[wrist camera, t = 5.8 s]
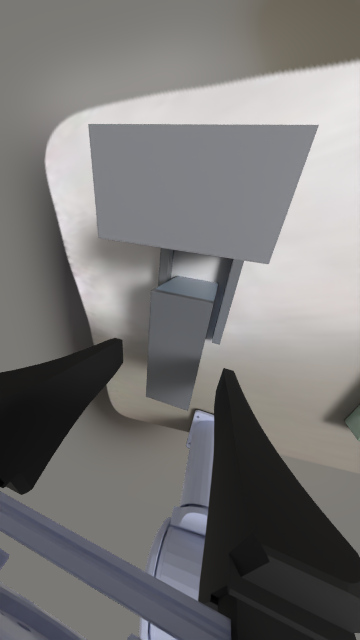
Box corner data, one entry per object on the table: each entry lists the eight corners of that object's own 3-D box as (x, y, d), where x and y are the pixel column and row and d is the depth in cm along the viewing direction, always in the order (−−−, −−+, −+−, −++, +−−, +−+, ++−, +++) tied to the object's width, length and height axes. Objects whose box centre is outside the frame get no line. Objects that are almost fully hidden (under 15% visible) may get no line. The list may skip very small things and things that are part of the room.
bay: (219, 338, 17) (215, 412, 9) (159, 323, 18) (110, 377, 11) (257, 206, 12) (318, 124, 4) (169, 198, 13) (88, 124, 5)
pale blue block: (198, 366, 20) (187, 415, 14) (168, 358, 20) (145, 400, 15) (218, 283, 15) (213, 303, 9) (178, 275, 16) (151, 290, 10)
